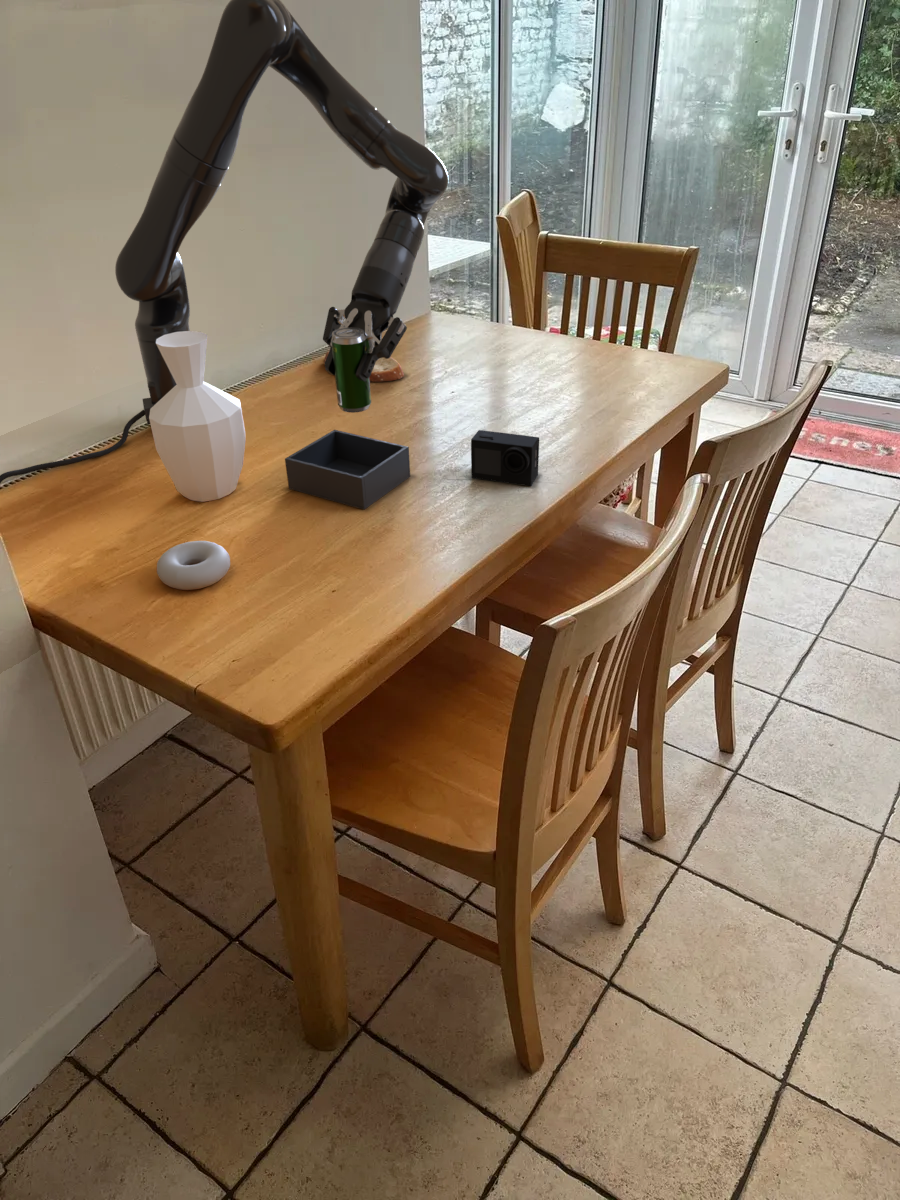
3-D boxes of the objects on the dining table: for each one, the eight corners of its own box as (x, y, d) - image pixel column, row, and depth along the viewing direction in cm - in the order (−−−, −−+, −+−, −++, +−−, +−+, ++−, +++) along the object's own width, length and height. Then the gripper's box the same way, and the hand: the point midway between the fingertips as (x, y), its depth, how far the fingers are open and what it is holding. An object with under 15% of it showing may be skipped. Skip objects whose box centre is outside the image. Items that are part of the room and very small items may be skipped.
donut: (236, 555, 129) (165, 558, 129) (232, 534, 127) (161, 537, 127) (227, 593, 121) (152, 596, 120) (223, 571, 119) (147, 575, 118)
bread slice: (403, 381, 186) (402, 364, 184) (317, 383, 186) (315, 366, 184) (407, 353, 201) (406, 336, 198) (328, 355, 201) (326, 338, 199)
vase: (178, 518, 139) (143, 361, 125) (157, 482, 149) (123, 334, 135) (266, 497, 144) (242, 343, 130) (240, 464, 154) (216, 319, 140)
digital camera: (468, 481, 147) (467, 442, 143) (478, 467, 151) (478, 429, 147) (529, 490, 144) (530, 449, 140) (538, 475, 148) (539, 436, 144)
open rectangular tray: (364, 509, 139) (361, 478, 136) (288, 488, 146) (284, 458, 143) (410, 476, 149) (408, 446, 146) (337, 458, 155) (334, 429, 152)
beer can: (347, 416, 140) (340, 340, 133) (332, 405, 144) (324, 331, 137) (377, 408, 142) (372, 333, 135) (361, 397, 146) (355, 324, 139)
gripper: (335, 259, 140) (295, 357, 138) (411, 269, 133) (371, 372, 132) (358, 285, 147) (320, 379, 145) (431, 296, 140) (393, 394, 139)
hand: (345, 375), depth 138 cm, fingers closed on beer can, 5 cm apart
